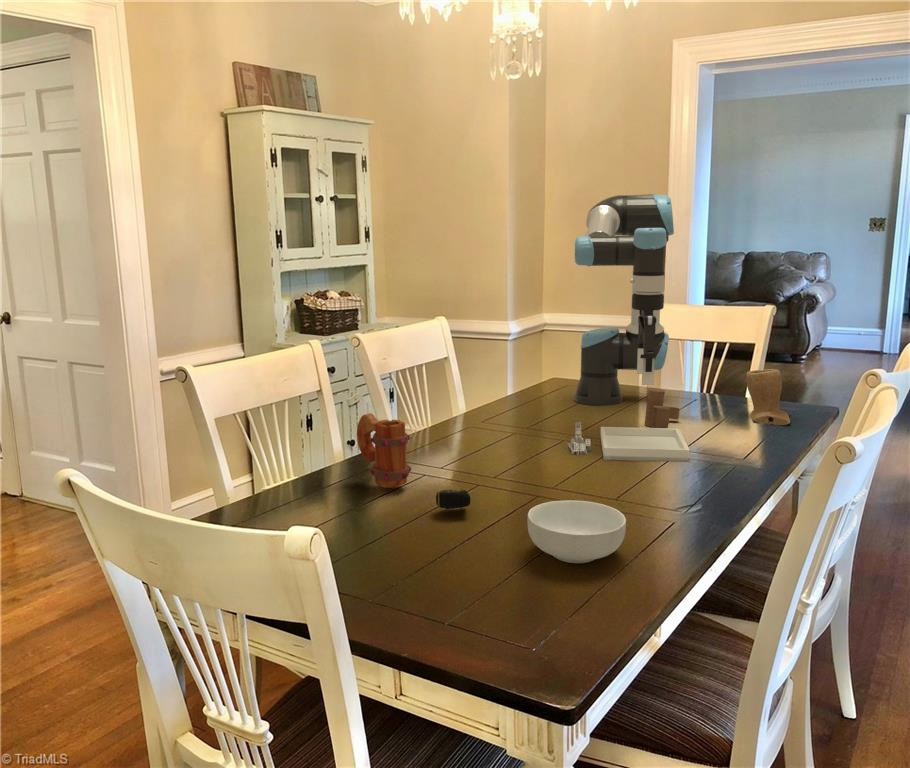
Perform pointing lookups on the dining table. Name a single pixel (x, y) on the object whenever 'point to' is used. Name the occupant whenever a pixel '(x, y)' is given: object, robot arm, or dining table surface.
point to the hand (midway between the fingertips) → (644, 379)
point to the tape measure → (452, 499)
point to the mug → (384, 449)
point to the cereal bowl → (576, 529)
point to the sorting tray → (643, 444)
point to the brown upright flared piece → (766, 396)
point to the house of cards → (579, 442)
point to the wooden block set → (659, 410)
